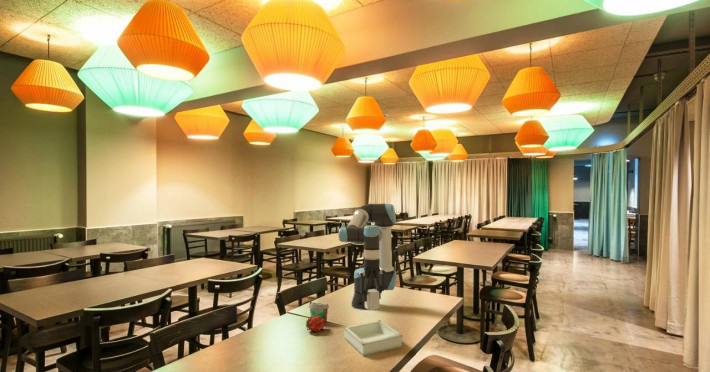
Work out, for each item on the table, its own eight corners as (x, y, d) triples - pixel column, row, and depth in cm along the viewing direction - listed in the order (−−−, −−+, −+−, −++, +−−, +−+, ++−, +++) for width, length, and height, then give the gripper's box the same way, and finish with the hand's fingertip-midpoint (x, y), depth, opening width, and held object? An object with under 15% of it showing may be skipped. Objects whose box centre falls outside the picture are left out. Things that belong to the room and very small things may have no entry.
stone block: (374, 305, 167) (374, 288, 167) (379, 308, 162) (379, 291, 162) (364, 307, 164) (364, 290, 165) (369, 310, 160) (369, 292, 160)
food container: (304, 321, 190) (304, 303, 190) (310, 318, 195) (310, 300, 196) (322, 325, 184) (322, 307, 184) (328, 322, 190) (328, 303, 190)
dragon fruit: (303, 336, 175) (324, 334, 181) (310, 330, 170) (331, 328, 176) (301, 319, 180) (321, 318, 186) (308, 313, 175) (328, 312, 181)
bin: (380, 331, 177) (380, 320, 177) (402, 347, 158) (402, 335, 158) (343, 338, 168) (343, 327, 168) (362, 356, 149) (362, 343, 149)
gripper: (384, 255, 171) (384, 302, 171) (351, 258, 163) (351, 307, 163) (392, 257, 164) (392, 306, 164) (358, 261, 156) (358, 312, 156)
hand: (372, 307), depth 163 cm, fingers closed on stone block, 5 cm apart
